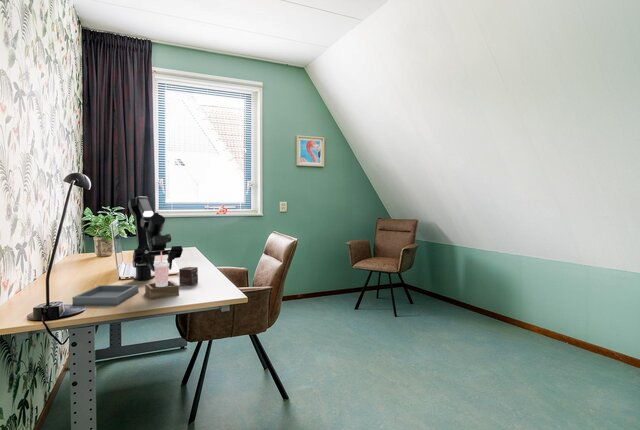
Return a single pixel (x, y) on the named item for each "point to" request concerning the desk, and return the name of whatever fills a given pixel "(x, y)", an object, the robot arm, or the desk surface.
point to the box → (188, 276)
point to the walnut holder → (161, 290)
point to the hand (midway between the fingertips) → (162, 270)
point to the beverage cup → (161, 273)
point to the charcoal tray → (106, 295)
